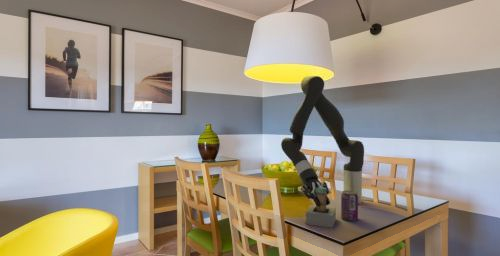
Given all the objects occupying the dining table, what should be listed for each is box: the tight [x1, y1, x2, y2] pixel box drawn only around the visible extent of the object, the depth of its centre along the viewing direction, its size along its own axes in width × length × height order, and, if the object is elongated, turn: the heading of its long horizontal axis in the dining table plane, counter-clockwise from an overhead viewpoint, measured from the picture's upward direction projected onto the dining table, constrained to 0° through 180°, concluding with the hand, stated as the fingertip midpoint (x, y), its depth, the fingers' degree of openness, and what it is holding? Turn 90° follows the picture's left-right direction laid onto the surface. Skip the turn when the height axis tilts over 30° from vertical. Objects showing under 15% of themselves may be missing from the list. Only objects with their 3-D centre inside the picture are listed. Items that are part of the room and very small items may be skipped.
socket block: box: [305, 204, 337, 229], centre depth 122 cm, size 11×11×5 cm
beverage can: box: [340, 190, 359, 222], centre depth 125 cm, size 7×7×12 cm
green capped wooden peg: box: [315, 187, 327, 213], centre depth 121 cm, size 4×4×12 cm
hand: (324, 204), depth 120 cm, fingers closed on green capped wooden peg, 4 cm apart
